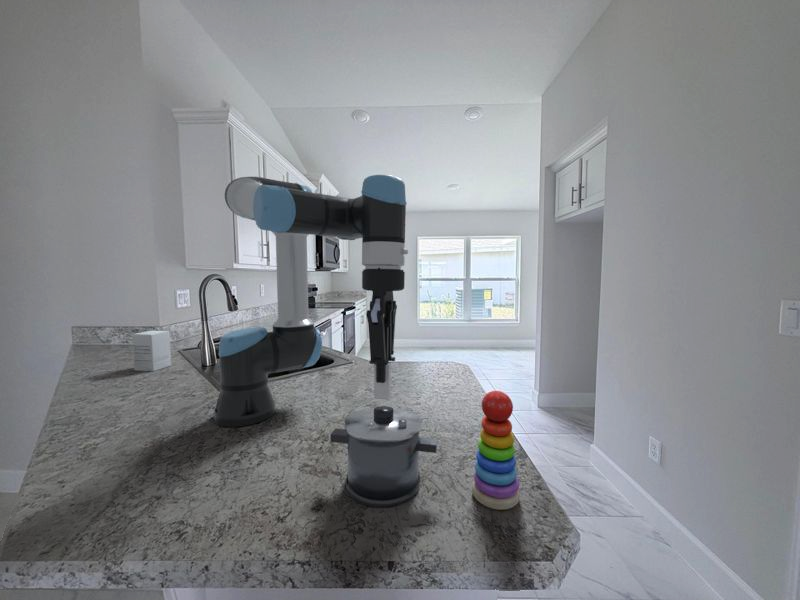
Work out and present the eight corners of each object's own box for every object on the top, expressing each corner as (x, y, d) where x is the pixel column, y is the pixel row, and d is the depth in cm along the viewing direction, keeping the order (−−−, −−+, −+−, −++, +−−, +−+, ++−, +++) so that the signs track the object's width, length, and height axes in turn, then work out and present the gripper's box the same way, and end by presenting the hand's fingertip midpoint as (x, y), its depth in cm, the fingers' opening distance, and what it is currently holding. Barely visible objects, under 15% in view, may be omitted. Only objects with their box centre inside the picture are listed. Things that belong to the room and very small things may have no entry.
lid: (332, 441, 54) (332, 419, 54) (360, 411, 69) (360, 394, 69) (415, 450, 51) (416, 427, 51) (426, 417, 66) (426, 399, 66)
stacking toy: (466, 482, 60) (468, 383, 59) (507, 480, 61) (510, 382, 59) (480, 514, 52) (482, 400, 51) (528, 511, 53) (531, 398, 52)
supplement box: (153, 364, 139) (151, 330, 138) (172, 365, 138) (170, 330, 137) (133, 370, 130) (131, 333, 129) (152, 371, 129) (151, 334, 128)
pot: (318, 499, 55) (317, 442, 55) (346, 456, 69) (345, 410, 68) (432, 515, 52) (433, 455, 51) (439, 466, 65) (439, 418, 64)
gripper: (396, 267, 50) (395, 414, 52) (410, 268, 63) (408, 387, 65) (350, 267, 52) (350, 410, 54) (372, 268, 65) (372, 384, 66)
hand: (382, 397), depth 59 cm, fingers closed
